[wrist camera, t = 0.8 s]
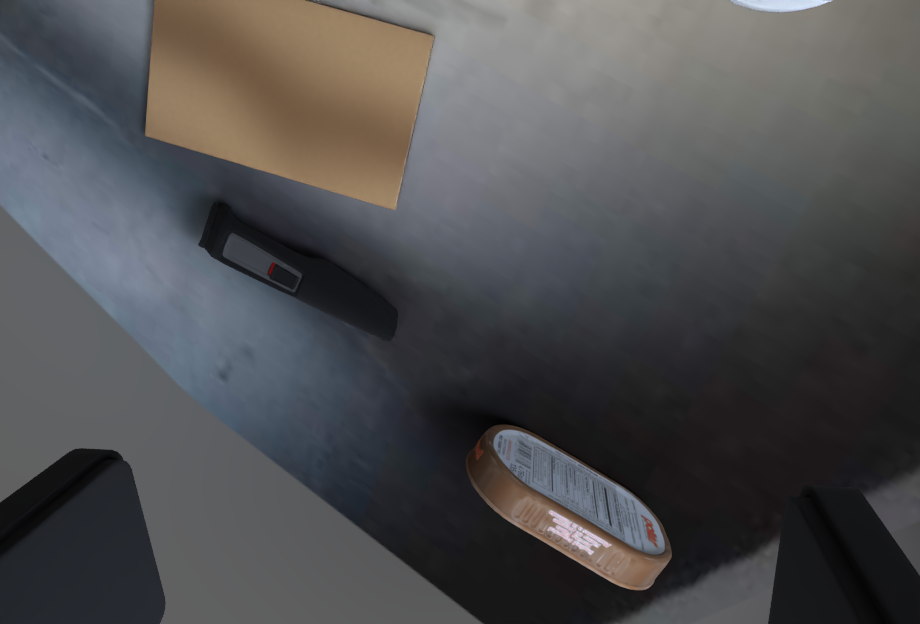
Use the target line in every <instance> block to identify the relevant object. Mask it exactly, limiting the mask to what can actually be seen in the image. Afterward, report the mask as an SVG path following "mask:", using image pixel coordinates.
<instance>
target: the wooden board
mask: <svg viewBox="0 0 920 624" xmlns="http://www.w3.org/2000/svg"><path fill="white" fill-rule="evenodd" d="M434 38H435V37H434V36H432V35H429V34H425V33H422V32H418V31H414V30H411V29H407V28H404V27H400V26H397V25H393V24H389V23H386V22H382V21H379V20H375V19H371V18H368V17H364V16H361V15H357V14H354V13H350V12H346V11H343V10H339V9H336V8H332V7H328V6H325V5H321V4H318V3H314V2H311V1H307V0H154V13H153V28H152V42H151V56H150V71H149V85H148V100H147V114H146V128H145V136H148V137H151V138H154V139H158V140H161V141H164V142H168V143H171V144H174V145H178V146H181V147H185V148H188V149H191V150H195V151H198V152H201V153H205V154H208V155H211V156H215V157H218V158H221V159H225V160H228V161H231V162H235V163H238V164H241V165H245V166H248V167H252V168H255V169H258V170H262V171H265V172H268V173H272V174H275V175H278V176H282V177H285V178H288V179H292V180H295V181H298V182H302V183H305V184H308V185H312V186H315V187H319V188H322V189H325V190H329V191H332V192H335V193H339V194H342V195H345V196H349V197H352V198H355V199H359V200H362V201H365V202H369V203H372V204H375V205H379V206H382V207H386V208H389V209H392V210H395V209H396V207H397V203H398V198H399V194H400V190H401V185H402V181H403V176H404V172H405V167H406V163H407V158H408V154H409V149H410V145H411V140H412V136H413V132H414V127H415V123H416V118H417V114H418V109H419V105H420V100H421V96H422V91H423V87H424V82H425V78H426V74H427V69H428V65H429V60H430V56H431V51H432V47H433V42H434Z"/></svg>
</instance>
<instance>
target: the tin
mask: <svg viewBox="0 0 920 624" xmlns="http://www.w3.org/2000/svg"><path fill="white" fill-rule="evenodd" d="M466 469H467V473H468V476H469V478H470V481H471V482H472V484H473V486H474V488H475V489H476V491H477V492H478V493H479V494H480V496H481V497H482V498H483V499H484V500H485V501H486V502H487V504H488V505H489V506H491V507H492V508H493V509H494V510H495V511H496V512H497V513H498V514H500V515H501V516H502V517H504V518H505V519H506V520H508V521H509V522H511V523H512V524H514V525H516V526H517V527H519V528H521V529H523V530H524V531H526V532H528V533H529V534H531V535H533V536H535V537H536V538H538V539H540V540H541V541H543V542H545V543H546V544H548V545H550V546H551V547H553V548H555V549H557V550H558V551H560V552H562V553H563V554H565V555H567V556H568V557H570V558H572V559H574V560H575V561H577V562H579V563H580V564H582V565H583V566H585V567H587V568H589V569H590V570H592V571H594V572H595V573H597V574H599V575H600V576H602V577H604V578H605V579H607V580H609V581H611V582H613V583H614V584H616V585H619V586H621V587H624V588H628V589H632V590H645V589H647V588H649V587H650V586H651V585H652V584H653V583H654V580H655V578H656V577H657V576H658V575H659V573H660V572H661V571H662V570H663V569H664V568H665V566H666V565H667V563H668V562H669V560H670V559H671V556H672V555H671V547H670V544H669V541H668V538H667V536H666V533H665V531H664V528H663V526H662V524H661V522H660V521H659V520H658V518H657V517H656V516H655V514H654V513H653V512H652V511H651V510H650V509H649V508H648V507H647V506H646V505H645V504H644V503H643V502H642V501H641V500H640V499H639V498H638V497H636V496H635V495H634V494H633V493H631V492H630V491H629V490H627V489H626V488H625V487H623V486H622V485H620V484H618V483H617V482H615V481H613V480H612V479H610V478H608V477H607V476H605V475H603V474H602V473H600V472H598V471H597V470H595V469H593V468H592V467H590V466H588V465H587V464H585V463H584V462H582V461H580V460H578V459H577V458H575V457H573V456H572V455H570V454H568V453H567V452H565V451H563V450H562V449H560V448H558V447H556V446H555V445H553V444H551V443H550V442H548V441H546V440H544V439H543V438H541V437H539V436H538V435H536V434H534V433H532V432H530V431H528V430H525V429H523V428H520V427H517V426H513V425H507V424H500V425H495V426H492V427H491V428H489V429H488V430H487V431H486V432H485V433H484V434H483V436H482V437H481V438H480V440H479V442H478V443H477V445H476V446H475V448H474V449H472V450H471V451H470V452H469V454H468V456H467V458H466Z"/></svg>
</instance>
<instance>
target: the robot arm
mask: <svg viewBox="0 0 920 624" xmlns="http://www.w3.org/2000/svg"><path fill="white" fill-rule="evenodd" d="M730 1H731V2H733V3H735V4H738V5H741V6H744V7H747V8H750V9H753V10H758V11H767V12H777V13H779V12H789V11H800V10H804V9H808V8H812V7H816V6H820V5H822V4H825V3H828V2H830V1H833V0H730ZM164 610H165V596H164V592H163V588H162V585H161V581H160V577H159V573H158V569H157V565H156V561H155V558H154V554H153V550H152V546H151V542H150V538H149V534H148V531H147V527H146V523H145V519H144V515H143V511H142V508H141V504H140V500H139V496H138V492H137V488H136V485H135V481H134V477H133V473H132V469H131V467H130V465H129V464H128V463H127V462H126V461H124V460H123V458H122V456H121V455H120V454H119V453H118V452H116V451H113V450H101V449H83V448H82V449H75V450H72V451H71V452H69V453H67V454H66V455H65V456H63V457H62V458H60V459H59V460H58V461H56V462H55V463H54V464H52V465H51V466H49V467H48V468H47V469H45V470H44V471H43V472H41V473H40V474H39V475H37V476H36V477H35V478H33V479H32V480H30V481H29V482H28V483H27V484H25V485H24V486H22V487H21V488H20V489H18V490H17V491H15V492H14V493H13V494H11V495H10V496H9V497H7V498H6V499H5V500H3V501H2V502H0V624H160V622H161V620H162V617H163V615H164ZM768 624H920V576H919V574H918V573H917V571H916V570H915V569H914V567H913V566H912V564H911V563H910V561H909V560H908V558H907V557H906V556H905V554H904V553H903V551H902V550H901V548H900V547H899V546H898V544H897V543H896V541H895V540H894V539H893V537H892V536H891V534H890V533H889V531H888V530H887V528H886V527H885V525H884V524H883V523H882V521H881V520H880V518H879V517H878V515H877V514H876V513H875V511H874V510H873V508H872V507H871V505H870V504H869V503H868V501H867V500H866V498H865V497H864V495H863V494H862V493H861V492H860V491H859V490H858V489H856V488H850V487H831V486H811V485H807V486H805V487H804V488H803V490H802V491H801V495H800V497H797V496H790V497H788V498H787V500H786V503H785V508H784V515H783V522H782V529H781V537H780V544H779V551H778V558H777V565H776V572H775V579H774V586H773V594H772V601H771V608H770V615H769V622H768Z"/></svg>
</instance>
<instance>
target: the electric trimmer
mask: <svg viewBox="0 0 920 624" xmlns="http://www.w3.org/2000/svg"><path fill="white" fill-rule="evenodd" d="M219 206H220V207H219ZM199 246H200V247H202V248H204V247H205V249H206V250H207V252H208V253H209V254H210V255H211V257H213V258H215V259H217V260H218V261H220V262H222V263H224V264H225V265H227V266H229V267H231V268H234V269H236V270H238V271H240V272H242V273H244V274H246V275H248V276H250V277H252V278H254V279H256V280H258V281H260V282H262V283H265V284H267V285H269V286H271V287H273V288H275V289H277V290H279V291H281V292H284V293H286V294H288V295H291V296H293V297H295V298H297V299H299V300H301V301H303V302H305V303H306V304H308V305H310V306H312V307H314V308H317V309H319V310H321V311H323V312H325V313H327V314H329V315H331V316H334V317H336V318H338V319H340V320H342V321H344V322H346V323H348V324H350V325H353V326H355V327H357V328H359V329H361V330H363V331H365V332H368V333H370V334H372V335H374V336H376V337H379V338H381V339H383V340H386V341H391V340H392V338H393V337H394V334H395V331H396V328H397V319H398V312H397V309H396V308H394V307H393V306H392V305H390V304H389V303H388V302H387V301H385V300H384V299H383V298H381V297H380V296H378V295H377V294H376V293H374V292H373V291H371V290H370V289H368V288H367V287H366V286H364V285H363V284H361V283H360V282H358V281H357V280H355V279H354V278H353V277H351V276H350V275H348V274H347V273H345V272H344V271H343V270H341V269H340V268H338V267H337V266H335V265H334V264H332V263H331V262H329V261H327V260H325V259H323V258H312V257H307V256H303V255H300V254H298V253H296V252H294V251H292V250H290V249H288V248H286V247H285V246H283V245H281V244H279V243H277V242H276V241H274V240H272V239H270V238H268V237H266V236H265V235H263V234H261V233H259V232H257V231H256V230H254V229H252V228H250V227H248V226H247V225H245V224H243V223H241V222H240V221H238V220H237V219H236V218H235V217H234V215H233V213H232V211H231V209H230V206H228V205H227V204H223V205H220V204H218V203H216V202H214V203H213V205H212V207H211V210H210V212H209V216H208V220H207V223H206V226H205V229H204V232H203V235H202V238H201V240H200V242H199Z"/></svg>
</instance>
